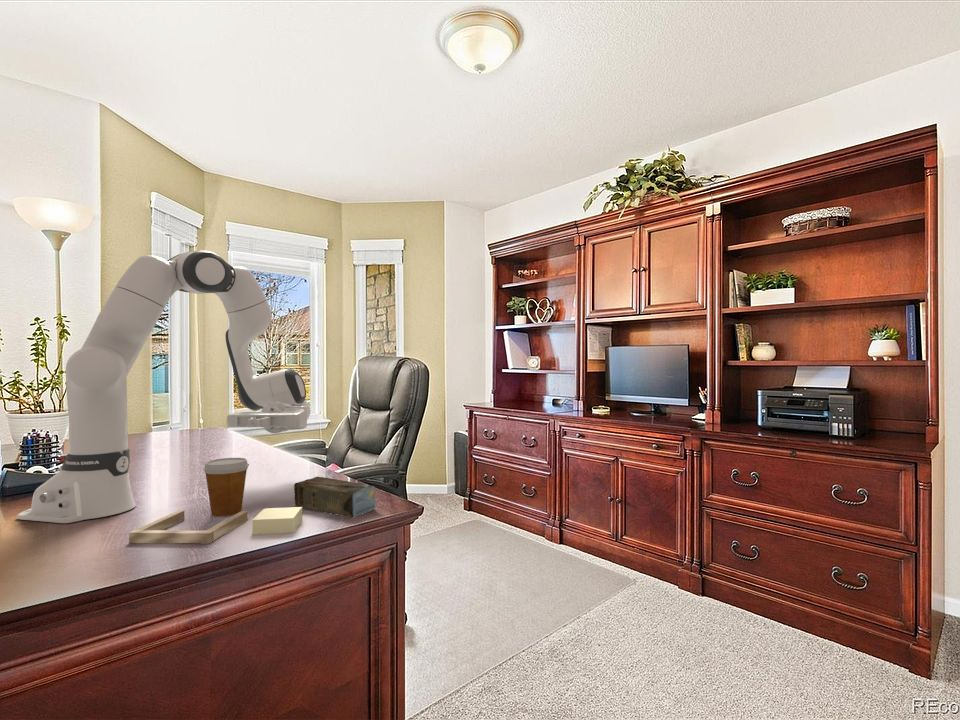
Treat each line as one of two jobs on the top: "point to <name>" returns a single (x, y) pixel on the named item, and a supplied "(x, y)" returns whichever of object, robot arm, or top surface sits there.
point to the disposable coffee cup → (226, 485)
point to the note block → (277, 520)
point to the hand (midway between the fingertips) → (252, 423)
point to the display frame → (158, 535)
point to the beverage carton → (334, 496)
